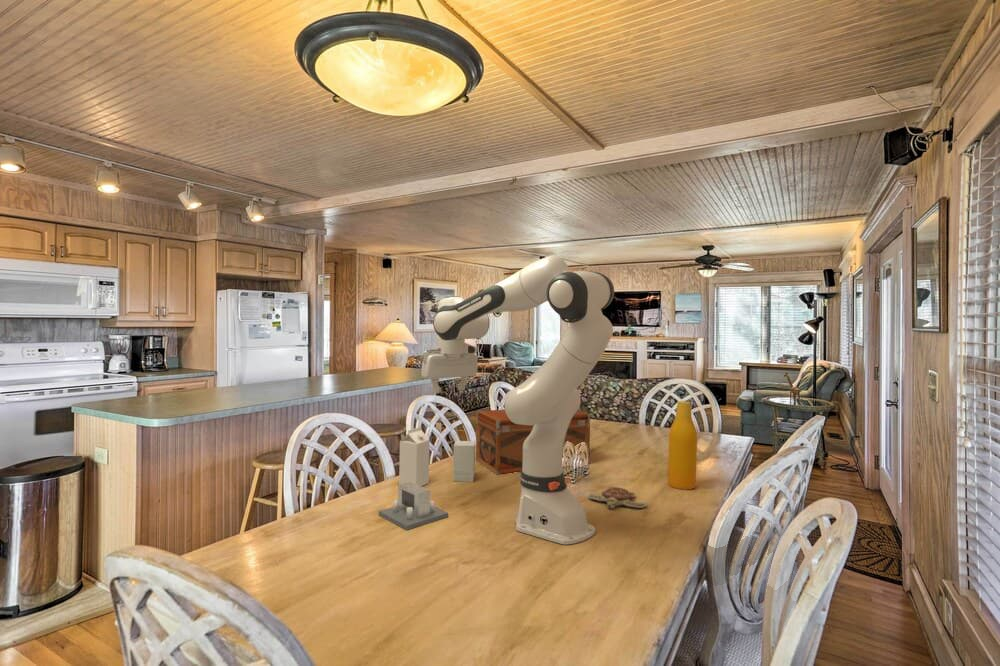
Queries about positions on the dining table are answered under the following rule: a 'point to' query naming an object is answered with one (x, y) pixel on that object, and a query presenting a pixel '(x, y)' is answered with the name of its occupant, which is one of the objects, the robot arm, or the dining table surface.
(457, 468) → the supplement box
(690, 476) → the beer bottle
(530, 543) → the dining table surface
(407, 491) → the block
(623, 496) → the decorative turtle
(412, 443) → the milk carton
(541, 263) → the robot arm
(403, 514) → the pin tray
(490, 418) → the wooden box
